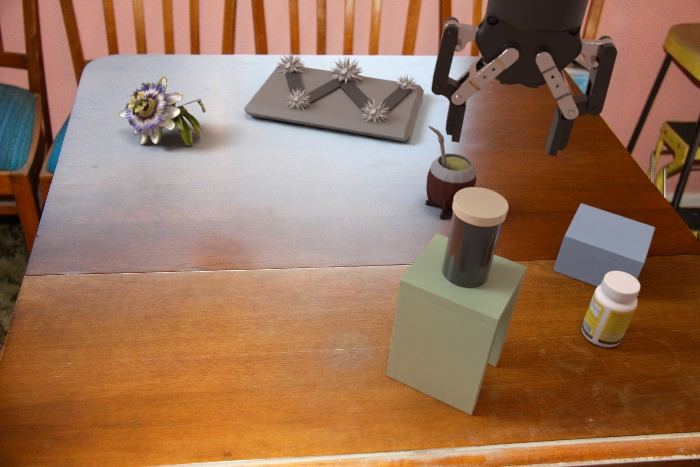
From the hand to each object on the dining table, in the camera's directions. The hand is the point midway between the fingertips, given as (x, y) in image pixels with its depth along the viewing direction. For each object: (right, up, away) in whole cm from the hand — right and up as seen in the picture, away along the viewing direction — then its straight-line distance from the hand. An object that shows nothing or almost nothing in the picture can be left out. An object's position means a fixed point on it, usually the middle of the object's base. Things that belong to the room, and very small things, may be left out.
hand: (503, 144), depth 59 cm
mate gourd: (0, -4, +39) cm, 40 cm away
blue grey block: (+20, -12, +31) cm, 39 cm away
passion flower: (-45, +8, +51) cm, 69 cm away
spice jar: (-2, -12, +6) cm, 13 cm away
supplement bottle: (+17, -20, +20) cm, 33 cm away
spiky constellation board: (-16, +16, +64) cm, 68 cm away
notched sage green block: (-3, -23, +14) cm, 27 cm away
